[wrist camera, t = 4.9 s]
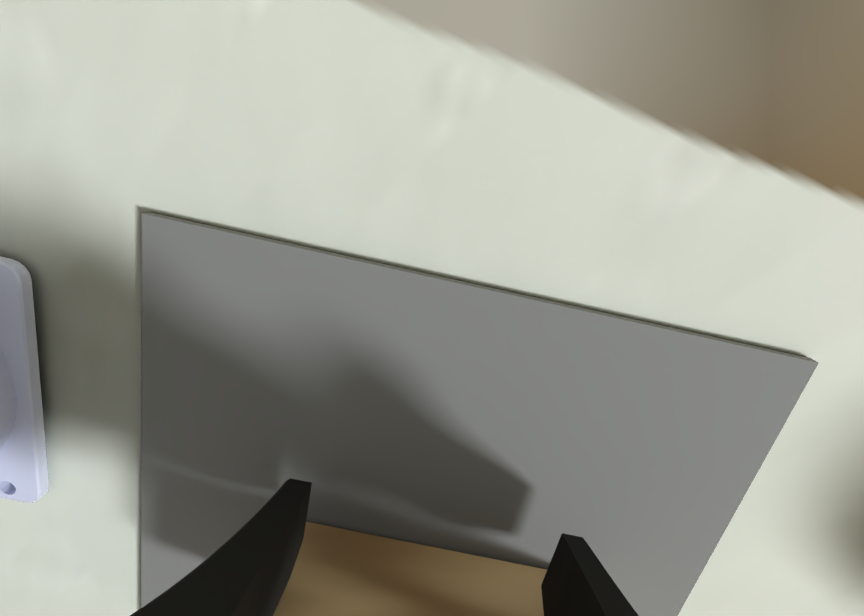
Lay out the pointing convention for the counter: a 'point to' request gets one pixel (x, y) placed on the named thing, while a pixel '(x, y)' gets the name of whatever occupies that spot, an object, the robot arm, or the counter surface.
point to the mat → (436, 413)
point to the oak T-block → (402, 579)
